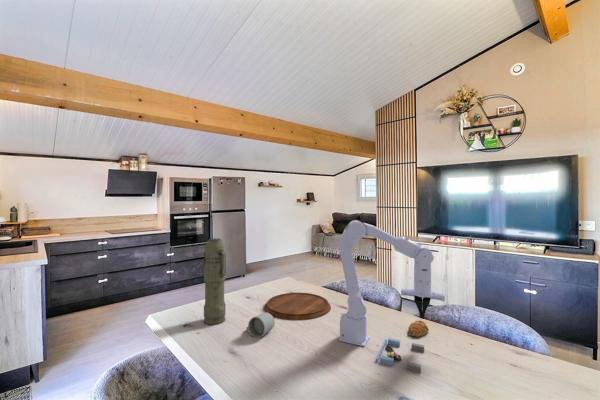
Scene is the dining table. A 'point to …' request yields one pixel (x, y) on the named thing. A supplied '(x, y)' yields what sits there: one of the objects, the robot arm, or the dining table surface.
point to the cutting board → (297, 306)
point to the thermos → (214, 282)
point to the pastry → (418, 329)
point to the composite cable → (393, 354)
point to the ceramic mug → (260, 325)
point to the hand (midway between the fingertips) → (422, 317)
